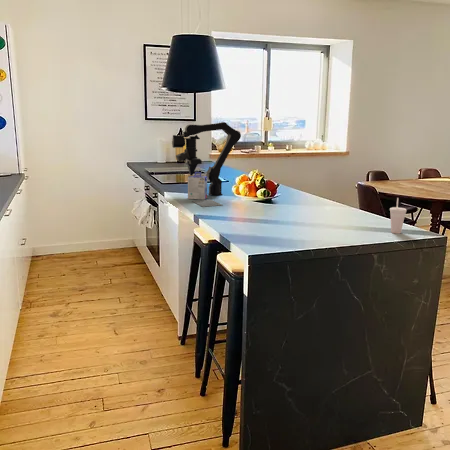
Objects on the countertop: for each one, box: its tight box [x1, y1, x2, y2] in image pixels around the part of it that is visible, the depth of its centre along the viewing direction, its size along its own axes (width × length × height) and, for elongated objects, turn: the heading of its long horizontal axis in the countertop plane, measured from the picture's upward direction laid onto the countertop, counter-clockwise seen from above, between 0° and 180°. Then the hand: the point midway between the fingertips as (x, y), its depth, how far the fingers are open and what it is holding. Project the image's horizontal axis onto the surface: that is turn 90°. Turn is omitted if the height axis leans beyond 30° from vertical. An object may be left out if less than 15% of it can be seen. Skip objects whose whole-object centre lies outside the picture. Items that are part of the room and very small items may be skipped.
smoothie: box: [389, 197, 407, 235], centre depth 188 cm, size 6×6×14 cm
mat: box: [191, 199, 224, 208], centre depth 245 cm, size 11×16×1 cm
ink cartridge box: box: [187, 171, 208, 200], centre depth 257 cm, size 10×6×14 cm, turn 78°
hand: (191, 175), depth 266 cm, fingers closed
